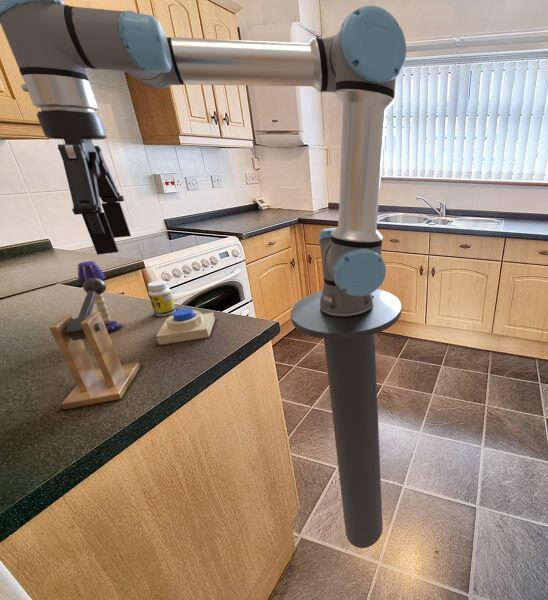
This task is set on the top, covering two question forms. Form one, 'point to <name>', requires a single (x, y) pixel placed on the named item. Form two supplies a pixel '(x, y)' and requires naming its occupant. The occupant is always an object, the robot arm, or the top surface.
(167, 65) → the robot arm
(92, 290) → the switch lever
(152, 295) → the supplement bottle
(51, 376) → the top surface
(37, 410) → the top surface
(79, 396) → the lever bracket
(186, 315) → the switch button
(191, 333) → the button box
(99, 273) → the toy lamp
